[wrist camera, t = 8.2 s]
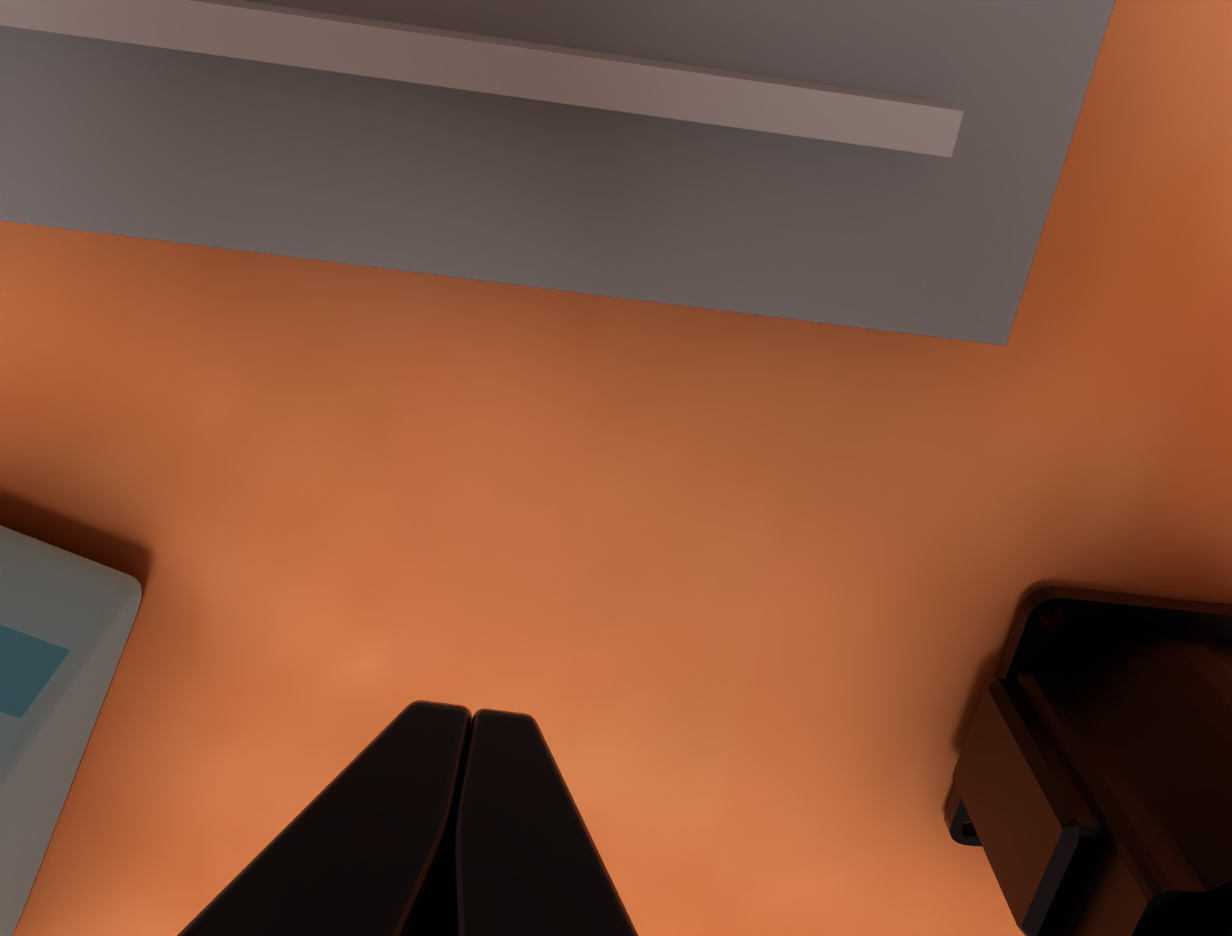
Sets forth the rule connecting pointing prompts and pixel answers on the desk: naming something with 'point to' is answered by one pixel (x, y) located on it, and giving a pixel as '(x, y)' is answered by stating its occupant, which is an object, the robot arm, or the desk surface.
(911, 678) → the desk surface
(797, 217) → the console board
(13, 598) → the data package
